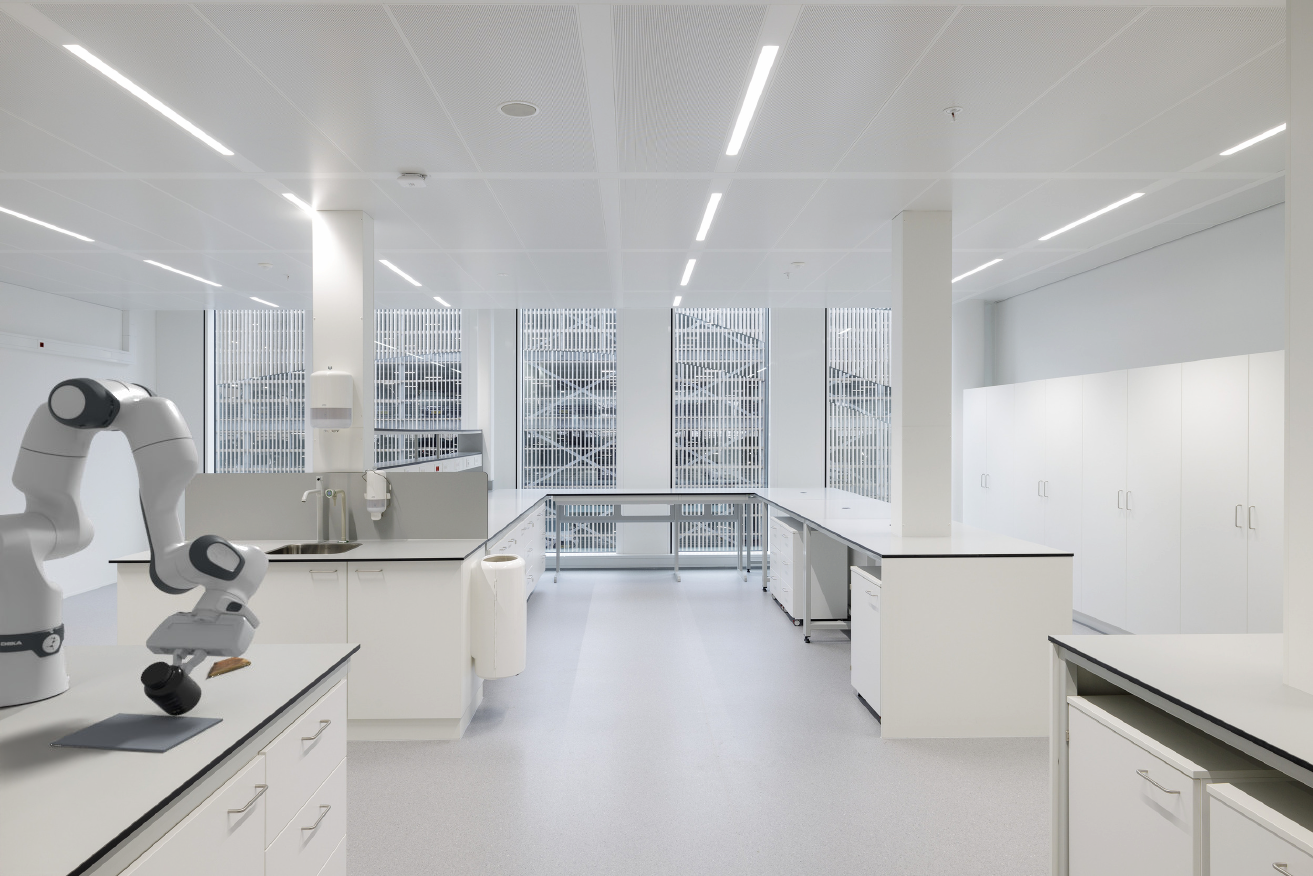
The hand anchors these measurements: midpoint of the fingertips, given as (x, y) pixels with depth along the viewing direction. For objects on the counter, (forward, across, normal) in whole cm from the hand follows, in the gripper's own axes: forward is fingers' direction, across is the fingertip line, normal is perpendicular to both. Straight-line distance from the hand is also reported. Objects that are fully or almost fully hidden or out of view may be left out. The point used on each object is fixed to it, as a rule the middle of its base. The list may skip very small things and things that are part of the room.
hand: (178, 673), depth 133 cm
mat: (+12, 0, 0) cm, 12 cm away
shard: (-14, -10, +26) cm, 32 cm away
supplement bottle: (+3, 0, +6) cm, 7 cm away
